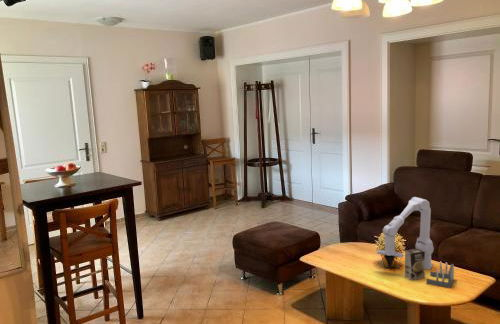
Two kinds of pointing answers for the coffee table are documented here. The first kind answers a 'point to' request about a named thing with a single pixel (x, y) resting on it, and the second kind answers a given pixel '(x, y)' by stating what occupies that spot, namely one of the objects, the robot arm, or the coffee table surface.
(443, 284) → the slot rack
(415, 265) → the coffee box
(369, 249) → the coffee table surface
